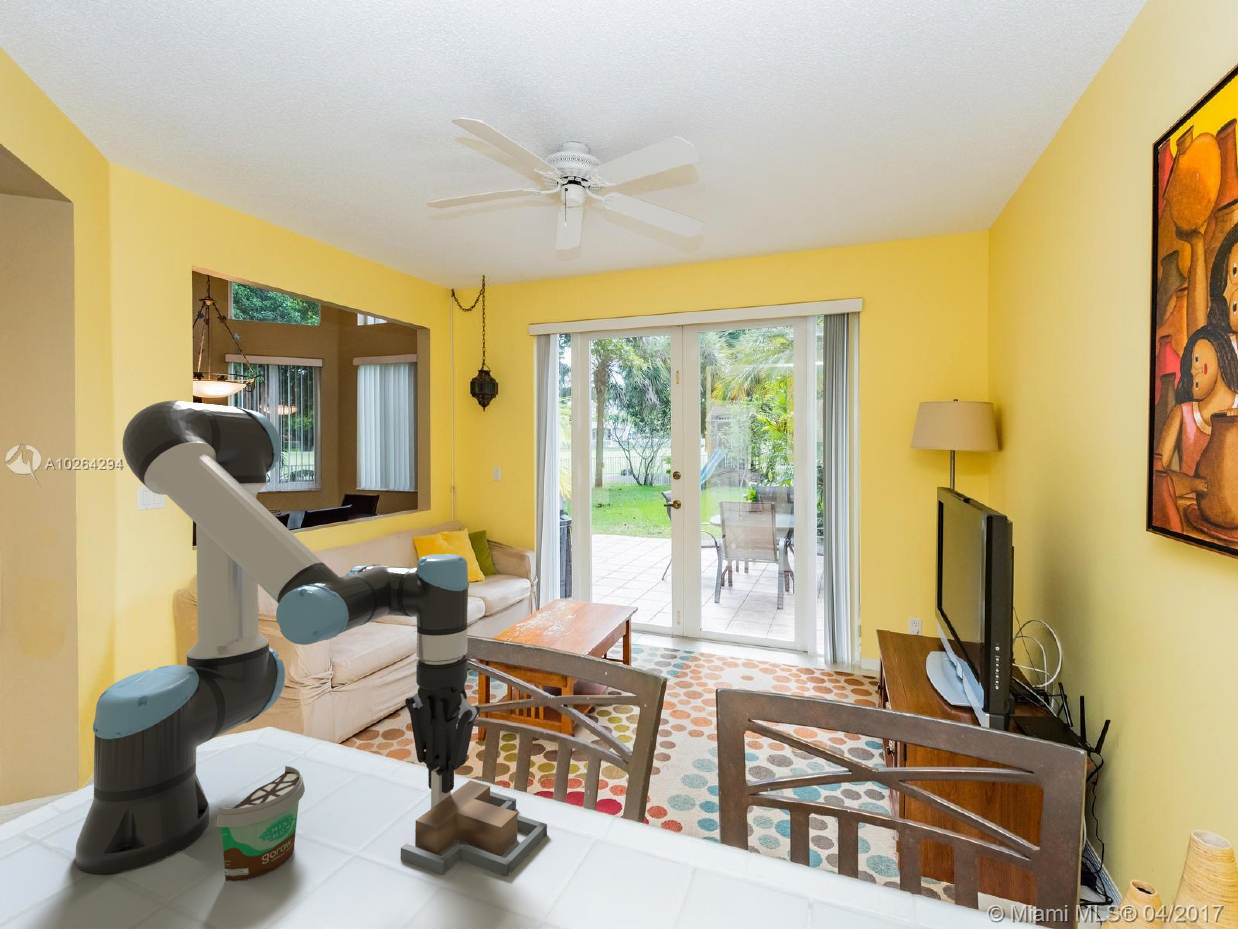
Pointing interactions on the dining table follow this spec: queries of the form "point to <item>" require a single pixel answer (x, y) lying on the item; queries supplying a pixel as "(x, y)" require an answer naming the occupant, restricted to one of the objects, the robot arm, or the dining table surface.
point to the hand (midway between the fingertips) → (440, 810)
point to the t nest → (479, 856)
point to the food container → (261, 828)
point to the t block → (467, 822)
